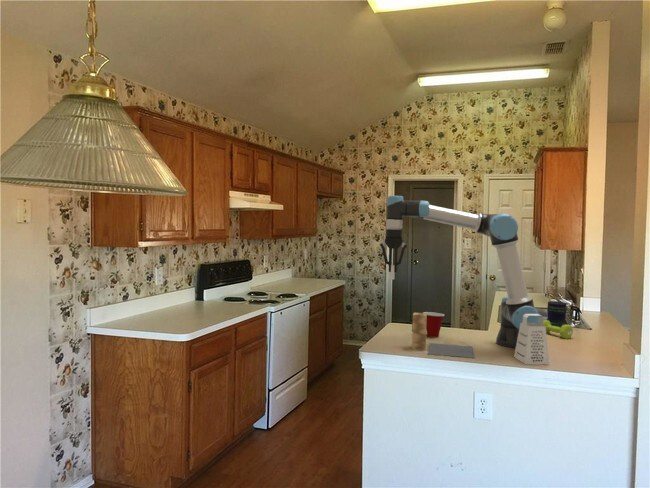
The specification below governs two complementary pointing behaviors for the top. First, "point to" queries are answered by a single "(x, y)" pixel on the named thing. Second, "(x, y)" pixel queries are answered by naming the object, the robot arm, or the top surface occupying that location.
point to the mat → (451, 350)
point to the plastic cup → (433, 323)
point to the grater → (532, 342)
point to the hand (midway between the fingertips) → (392, 279)
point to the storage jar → (557, 313)
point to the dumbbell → (559, 329)
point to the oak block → (419, 331)
